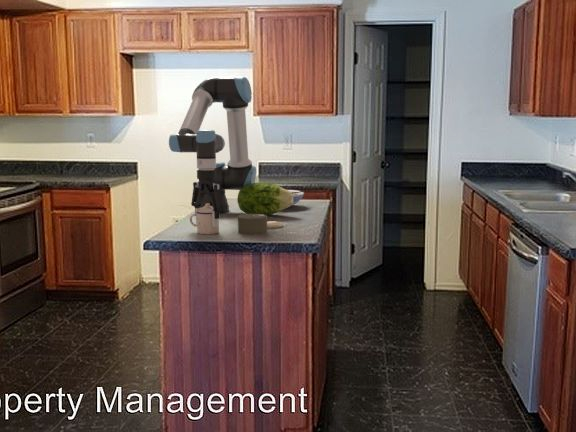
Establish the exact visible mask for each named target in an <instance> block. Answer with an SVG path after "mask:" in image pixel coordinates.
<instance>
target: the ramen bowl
mask: <svg viewBox="0 0 576 432" xmlns="http://www.w3.org/2000/svg"><path fill="white" fill-rule="evenodd" d="M287 190H288V191H289V192H291V193H292V194H293V204H292V205H291V206H294V205H296V204H298V203H299V202H300V200H301V199H302V198H303V196H305V195H304V194H305V192H307V190H304V191H303V190H295V189H287Z"/></svg>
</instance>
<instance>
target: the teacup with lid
mask: <svg viewBox="0 0 576 432" xmlns="http://www.w3.org/2000/svg"><path fill="white" fill-rule="evenodd" d="M212 211H213V207H212V206H210V204H205V206H204V207H202V208H200V209H198V210H197V211H196V212H197V214H195V213H193V214H191V215H190V216H189V223H190V224H191V226H193V227H196V229H197V230H196V231H197V233H198V234H200V235H216V234H217V233H219V231H220V226H218V227H212ZM196 216H197V224H196V223H194V222H193V217H196Z"/></svg>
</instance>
